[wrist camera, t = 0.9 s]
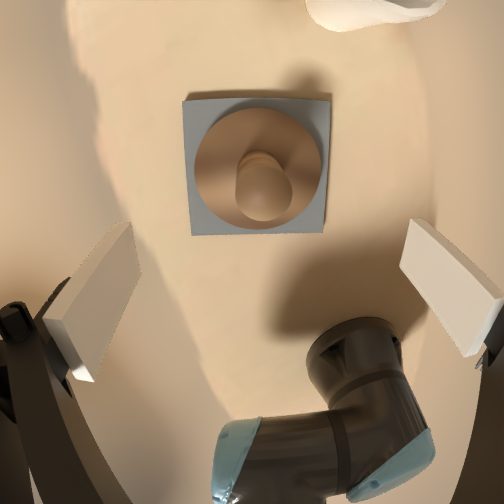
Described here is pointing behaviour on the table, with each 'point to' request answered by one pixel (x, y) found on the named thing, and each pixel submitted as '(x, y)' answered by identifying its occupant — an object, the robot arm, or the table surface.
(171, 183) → the table surface
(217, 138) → the lid
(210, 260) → the table surface
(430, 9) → the foam cup
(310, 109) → the mat
